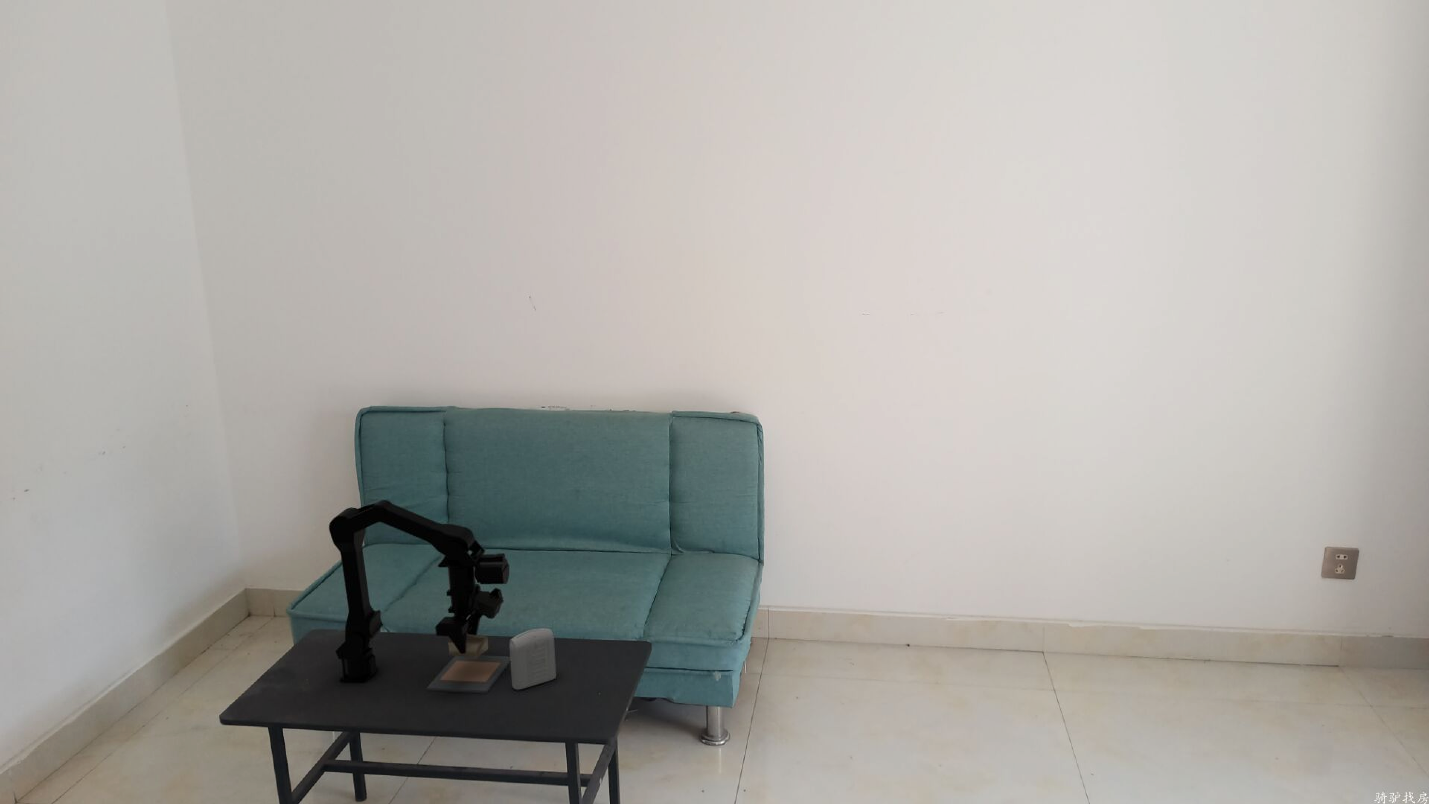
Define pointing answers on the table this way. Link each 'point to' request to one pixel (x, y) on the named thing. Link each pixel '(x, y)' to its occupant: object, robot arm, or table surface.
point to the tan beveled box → (471, 646)
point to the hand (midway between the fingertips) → (468, 647)
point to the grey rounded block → (532, 658)
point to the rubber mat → (470, 674)
